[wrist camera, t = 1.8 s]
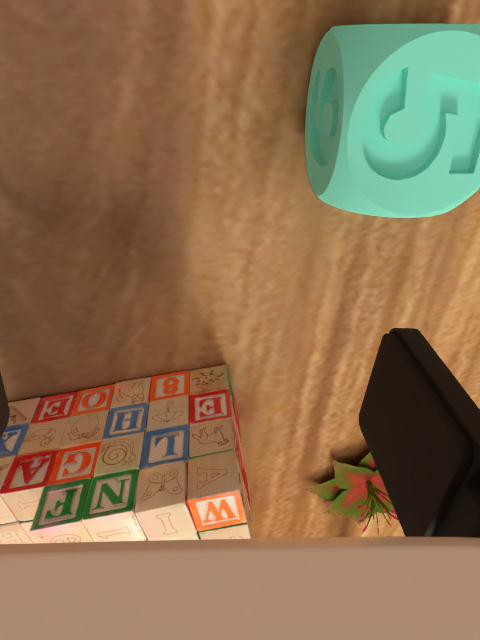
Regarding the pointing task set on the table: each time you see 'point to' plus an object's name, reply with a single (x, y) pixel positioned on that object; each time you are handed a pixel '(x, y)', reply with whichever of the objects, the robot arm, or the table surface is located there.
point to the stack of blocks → (126, 463)
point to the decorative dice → (395, 118)
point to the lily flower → (356, 491)
